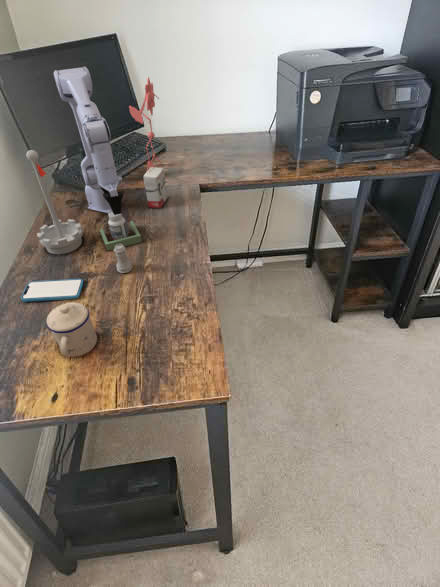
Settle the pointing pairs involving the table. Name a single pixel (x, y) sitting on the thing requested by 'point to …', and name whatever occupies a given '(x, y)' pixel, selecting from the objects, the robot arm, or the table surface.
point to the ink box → (155, 187)
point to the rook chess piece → (122, 259)
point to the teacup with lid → (72, 329)
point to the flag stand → (55, 221)
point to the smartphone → (52, 290)
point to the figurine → (138, 117)
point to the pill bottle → (117, 226)
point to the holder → (124, 241)
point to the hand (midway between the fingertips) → (114, 208)
